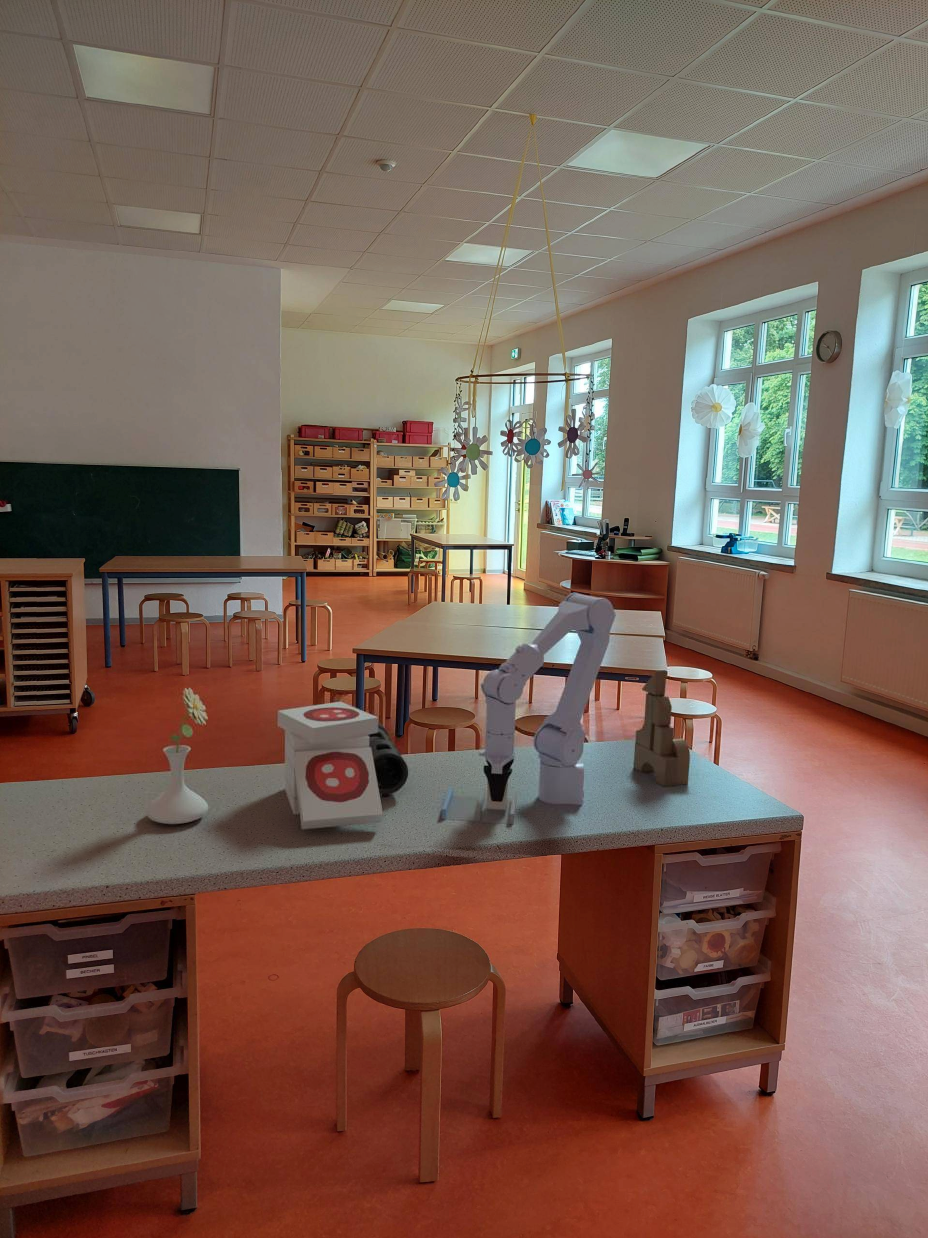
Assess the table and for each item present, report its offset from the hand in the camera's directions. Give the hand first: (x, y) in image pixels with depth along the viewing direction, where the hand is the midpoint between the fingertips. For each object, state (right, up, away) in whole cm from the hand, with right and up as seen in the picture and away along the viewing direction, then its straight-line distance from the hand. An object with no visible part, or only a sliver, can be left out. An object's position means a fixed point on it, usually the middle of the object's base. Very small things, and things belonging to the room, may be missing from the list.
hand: (497, 796), depth 177 cm
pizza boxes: (-33, -3, +1) cm, 34 cm away
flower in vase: (-61, -3, -6) cm, 62 cm away
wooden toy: (+39, -1, +29) cm, 48 cm away
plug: (0, -2, 0) cm, 2 cm away
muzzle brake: (-27, 0, +20) cm, 34 cm away
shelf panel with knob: (-3, -4, +1) cm, 5 cm away
